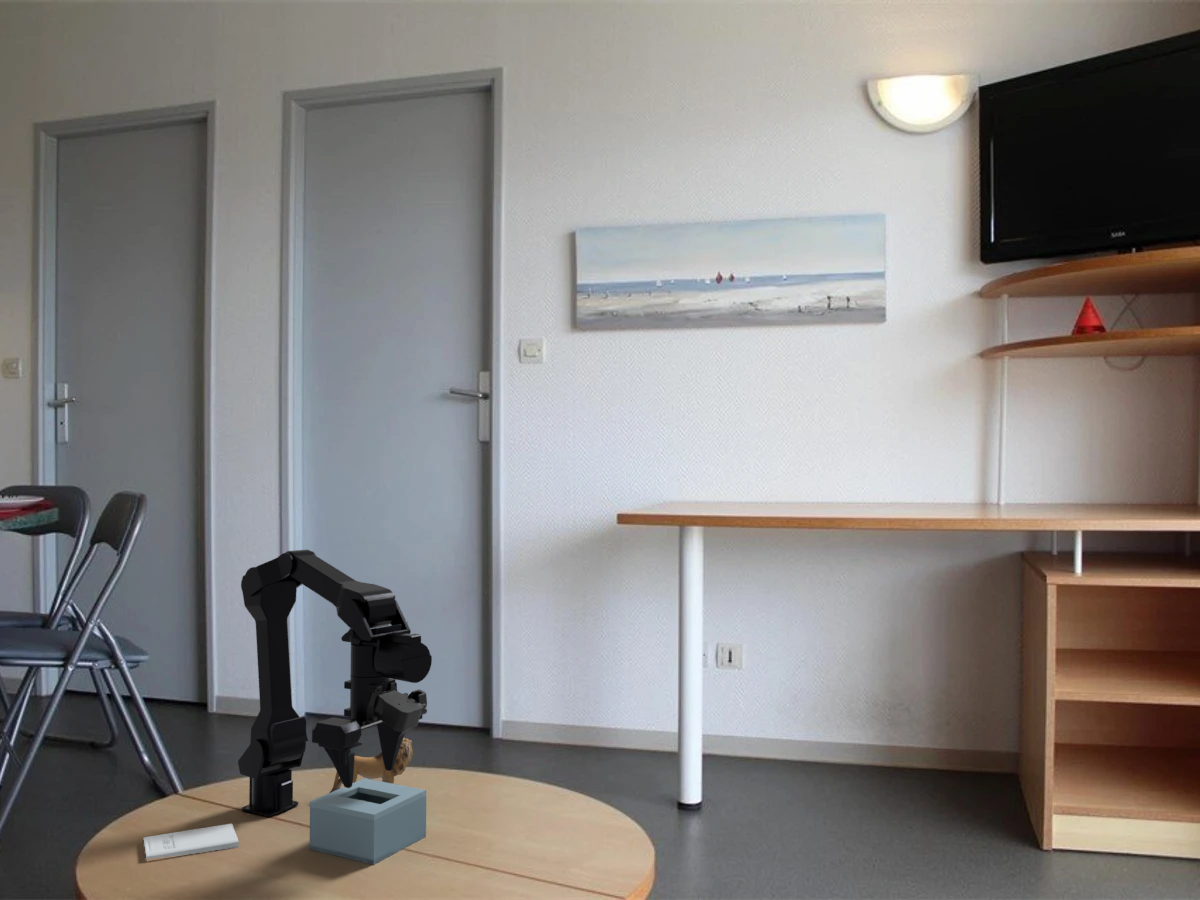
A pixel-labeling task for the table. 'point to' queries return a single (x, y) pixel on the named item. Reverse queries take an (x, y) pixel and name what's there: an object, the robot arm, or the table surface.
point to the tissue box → (367, 820)
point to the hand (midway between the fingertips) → (369, 778)
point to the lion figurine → (379, 766)
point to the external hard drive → (191, 841)
